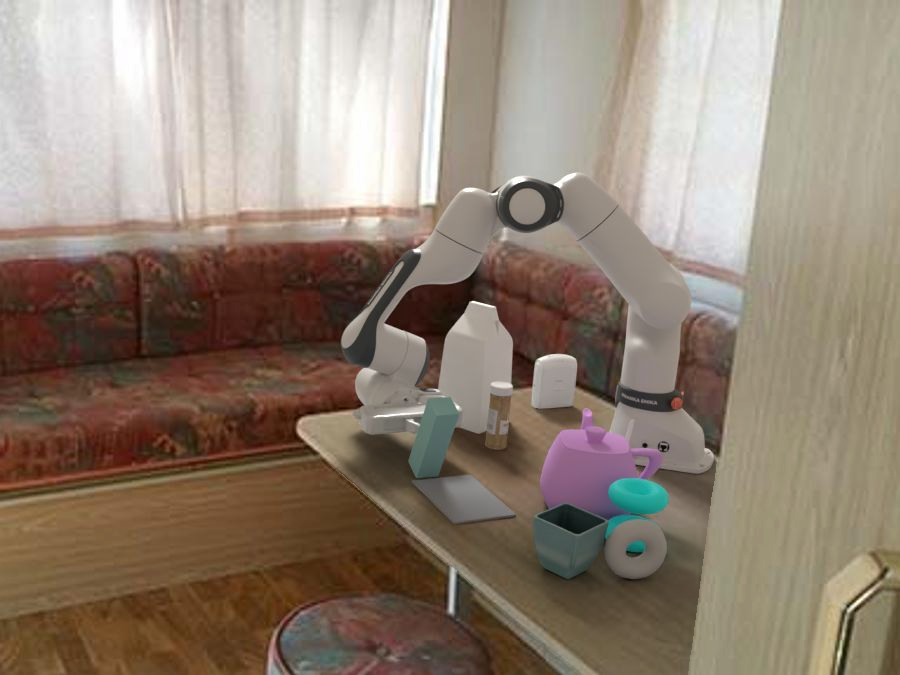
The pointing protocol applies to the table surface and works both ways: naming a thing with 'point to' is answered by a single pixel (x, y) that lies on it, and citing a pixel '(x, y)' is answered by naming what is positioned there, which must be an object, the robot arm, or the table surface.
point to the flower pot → (568, 539)
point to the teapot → (591, 468)
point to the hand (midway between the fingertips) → (427, 431)
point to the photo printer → (554, 381)
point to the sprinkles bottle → (498, 415)
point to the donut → (628, 535)
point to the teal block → (433, 437)
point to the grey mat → (463, 499)
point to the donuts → (636, 503)
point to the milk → (475, 362)
